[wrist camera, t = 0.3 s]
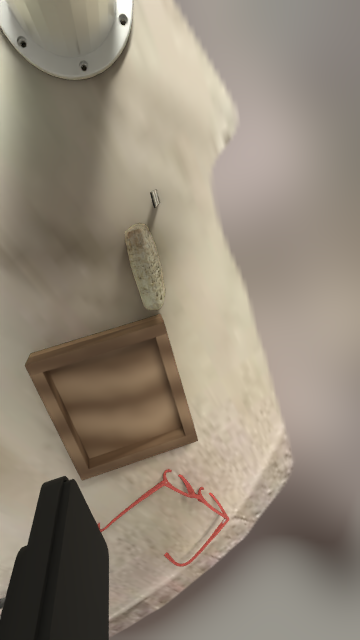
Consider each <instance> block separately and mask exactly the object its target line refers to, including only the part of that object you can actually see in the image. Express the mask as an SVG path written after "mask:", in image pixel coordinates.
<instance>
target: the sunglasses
mask: <svg viewBox="0 0 360 640" xmlns="http://www.w3.org/2000/svg"><path fill="white" fill-rule="evenodd" d="M171 471H172V470H169V469H168V470H166V471H165V472H164V474H163V481H161V482H160V483H158V484H157V485H156V486H154V487H153V488H152V489H150V490H149V491H148V492H146V493H145V494H144V495H142V496H141V497H140V498H139V499H138V500H136V501H135V502H134V503H133V504H131V505H130V506H129V507H128V508H126V509H125V510H124V511H123V512H121V513H120V514H119V515H118V516H117V517H115V518H114V519H113V520H112V521H111V522H110V523H109V524H108V525H107V526H106V527H105V528H103V529H101V530H100V532H102V531H104V530H105V529H107V528H108V527H109V526H110V525H111V524H112V523H113V522H115V521H116V520H117V519H118V518H119V517H121V516H122V515H123V514H125V513H126V512H127V511H128V510H130V509H131V508H132V507H134V506H135V505H136V504H138V503H139V502H141V501H142V500H144V499H145V498H147V497H148V496H149V495H151V494H152V493H154V492H155V491H157V490H158V489H159V488H161V487H162V486H167V487H169V488H170V489H172V490H174V491H176V492H178V493H180V494H182V495H184V496H187V497H190V498H197V499H198V501H200V502H202V503H204V504H205V505H206V506H208V507H209V508H210V509H211V510H213V511H214V512H216V513H217V514H219V515H221V516H222V517H224V520H223V521H222V522H221V524H220V525H219V526H218V527H217V529H216V530H215V531H214V533H213V534H212V536H211V537H210V538H209V539H208V541H207V542H206V543H205V544H204V545H203V547H202V548H201V549H200V550H199V551H198V552H197V553H196V554H195V555H194V556H193V558H192V559H190V560H189V561H188V562H186V563H183V564H179V563H177V562H175V561H174V560H173V559H172V557H171V556H170V555H169V554H168V553H166V554H165V555H164V556H165V557H166V558H167V559H169V560H170V561H171V562H172V563H173V564H175V565H176V566H186V565H188V564H190V563H191V562H192V561H193V560H194V559H195V558H196V557H197V556H198V555H199V554H200V553H201V552H202V551H203V550H204V548H205V547H206V546H207V545H208V544H209V543H210V542H211V541H212V539H213V538H214V537H215V536H216V535H217V534H218V533H219V532H220V531H221V529H222V528H223V527H224V526H225V524H226V523H227V522H228V521H229V517H228V516H227V514H226V513H225V511H224V509H223V508H222V506H221V504H220V503H219V502H218V500H217V499H216V498H215V496H214V495H213V494H212V493H209V494H210V495H211V496H212V497H213V499H214V500H215V501H216V503H217V504H218V506H219V507H220V509H221V511H222V513H221V512H219V511H217V510H216V509H215V508H213V507H212V506H211V505H210V504H208V503H207V501H206V500H205V499H204V498H203V496H202V494H201V490H204V488H203V487H201V488H200V489H199V491H198V494H195V492H194V490H193V488H192V487H191V485H190V484H189V483H188V481H187V480H186V479H185V478H184V477H183V476H182V475H180V474H179V475H178V476H179V477H180V478H181V479H182V480H183V482H184V484H185V485H186V488H187V490H188V493H189V494H187V493H185V492H183V491H180V490H179V489H177V488H175V487H174V486H172V485H171V484H170V483H169V482H168V480H167V478H166V473H167V472H171ZM98 527H99V529H100V523H99V524H98Z"/></svg>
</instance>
